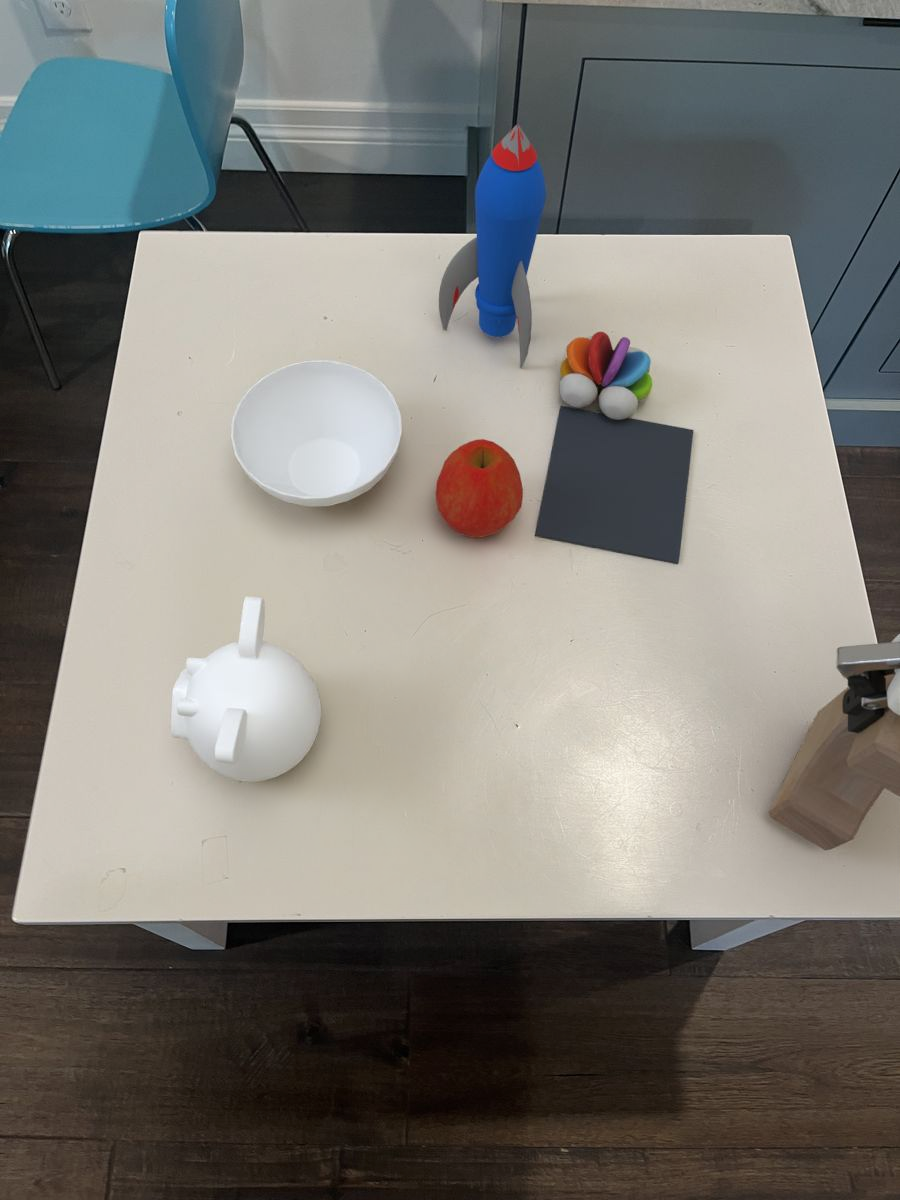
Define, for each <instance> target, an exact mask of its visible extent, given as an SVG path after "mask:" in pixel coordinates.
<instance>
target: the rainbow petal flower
mask: <svg viewBox="0 0 900 1200" xmlns="http://www.w3.org/2000/svg"><path fill="white" fill-rule="evenodd" d="M630 345H631V340H630V338H628V337H626V336H623V337H621V338H620V339H619V340H618V342H617V344H616V346H615V348H614V347H613V345H612V342H611V339H610V336H609V335H608V334H607V333H606V332H604V331H597V332H595V333H594V334H592V335H591V336H587V337H584V336H580V337H576V338H574V339H572V340H571V341H570V342H569V343H568V345H567V346H566V357H565V358H564V359H563V360H562V362H561V364H560V368H559V370H560V372H559V373H560V376H561V380H560V382H559V393H560V397H561V399H562V400H563V402H564V403H565V404H566V405H568V406H569V407H573V408H578V409H583V408H585V407H588V406H590V405H591V404H592V403H593V402H595V400H596V399H597V398H598V405H599V408H600V411H601V413H604V414H605V415H606V416H607V417H609V418H611V419H615V420H622V419H626V418H630V417H631V416H632V415H634V414H635V412H636V410H637V409H638V407H639V401H641V400H643V399H645V398H646V397H647V396H648V395H650V393H651V391H652V389H653V379H652V376H651V374H650V369H651V364H652V363H651V362H652V361H651V357H650V355H649V354H648V353H646V352H645V351H644V350H642V349H641V348H638V347H635V346H630ZM613 348H614V349H613ZM599 385H601V386H602V387H604V388H603V389H602V390H601V391H600V394H599V395H598V392H599V391H598V387H599Z"/></svg>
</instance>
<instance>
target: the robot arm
mask: <svg viewBox="0 0 900 1200" xmlns="http://www.w3.org/2000/svg"><path fill="white" fill-rule="evenodd" d="M835 661H836V663H835V664H836V669H837V671H838V672H839V673H840V675H841V676H842V677H843V678H844V679H846V680H847V687H850V689H848V690H847V691H846V692H845V694H844V696H843V702H842V710H843V713H844V714H848V731H849V732H854V733H858V732H861V731H862V730H863V729H865V728H866V727H868V726H869V725H871V724H872V723H873V722H875V721H876V720H878V719H879V718H881V717H882V716H883V715H884V708H887V707H889V708H890V709H891V710H892V711H893V712H894V713H896V714H898V715H899V716H900V633H899V634H897V635H896V637H894V638H893V640H892V641H890V642H880V643H869V644H858V645H857V644H855V645H847V646H845V645H844V646H840V647H837V649H836V660H835ZM891 674H894V678H893V679H892V681H891V683H890V685H889V687H888V690H887V691H886V678H885V677H884V676H887V675H891Z"/></svg>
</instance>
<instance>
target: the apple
mask: <svg viewBox="0 0 900 1200" xmlns="http://www.w3.org/2000/svg"><path fill="white" fill-rule="evenodd" d="M435 499H436V505H437V510H438V512H439V514H440V515H441V517H442V518H443V520H444V522H445V523H446V524H447V525H448V527H450V528H451V529H453V530H454V531H455V532H456V533H458V534H459V535H463V536H465V537H466V536H467V537H471V538H483V537H487V536H488V537H489V536H492V535H495V534H496V533H498V532H499V531H501V530H503V529H504V528H506V527H507V526H508V525H509V524H510V523H512V521H513V520H514V519H516V516H517V515H518V513H519V512H520V510H521V508H522V505H523V499H524V489H523V484H522V479H521V473H520V471H519V467H518V466H517V464H516V461H515V459H514V458H513V456H512V455H511V454H510V453H509V452H508V451H507V450H505V449H504V448H503V447H502V446H501V445H499V444H497V443H496V442H494V441H492V440H489V439H484V438H482V439H481V438H480V439H474V440H471V441H468V442H466V443H463V444H462V445H460V446H458V447H457V448H456V449H454V450H453V451H452V452H451V453H449V455H448V457H447V458H446V459H445V460H444V462H443V465H442V466H441V470H440V472H439V475H438V477H437V480H436V486H435Z"/></svg>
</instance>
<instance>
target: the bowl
mask: <svg viewBox="0 0 900 1200" xmlns="http://www.w3.org/2000/svg"><path fill="white" fill-rule="evenodd" d="M402 435H403V425H402V414H401V411H400V408H399V406H398V403H397V400H396V398H395V397H394V395H393V394H392V392H391V391H390V390H389V389H388V387H387V386H386V385H385V383H384V382H382V381H381V379H378V378H377V377H376V376H374V375H373V374H372V373H370V372H369V371H368V370H365V369H362V368H360V367H357V366H356V365H353V364H351V363H347V362H341V361H336V360H330V359H317V360H315V359H313V360H304V361H299V362H295V363H291V364H287V365H284V366H282V367H279V368H278V369H275V370H273V371H271V372H269V373H267V374H266V375H264V376H262V378H260V379H259V380H258V381H256V382H255V383H254V384H253V385H251V386H250V387H249V389H248V390H247V391H246V392H245V394H244V395H243V397H242V398H241V399H240V401H239V402H238V403H237V406H236V408H235V410H234V414H233V416H232V419H231V430H230V441H231V445H232V448H233V452H234V455H235V458H236V460H237V461H238V463H239V465H240V466H241V468H242V469H243V471H244V473H245V474H246V475H247V477H248V478H249V479H250V480H251V481H252V482H253V483H254V484H256V485H257V486H258V487H259V488H261V489H262V490H263V492H266V493H267V494H269V495H270V496H272V497H275V498H277V499H279V500H281V501H284V502H286V503H289V504H295V505H298V506H305V507H312V508H313V507H331V506H335V505H338V504H342V503H345V502H350V501H351V500H353V499H355V498H357V497H358V496H361V495H363V494H364V493H366V492H369V491H370V490H371V489H372V488H373V487H374V486H375V485H376V484H377V483H379V482H380V481H381V480H382V479H383V478H384V476H386V473H387V472H388V470H389V469H390V467H391V465H392V464H393V462H394V461H395V460H396V458H397V455H398V451H399V449H400V445H401V441H402Z"/></svg>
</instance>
